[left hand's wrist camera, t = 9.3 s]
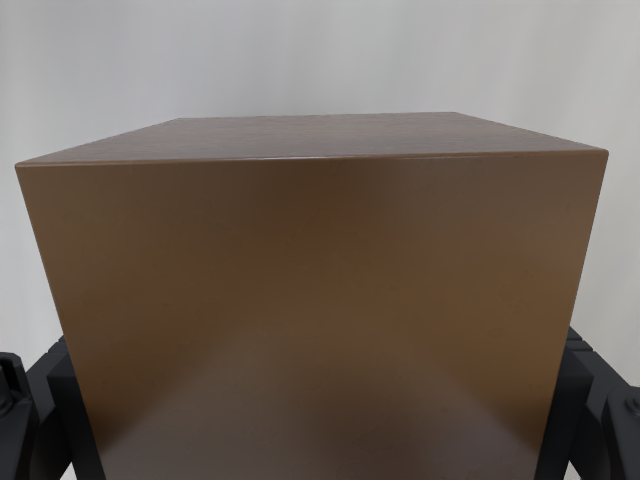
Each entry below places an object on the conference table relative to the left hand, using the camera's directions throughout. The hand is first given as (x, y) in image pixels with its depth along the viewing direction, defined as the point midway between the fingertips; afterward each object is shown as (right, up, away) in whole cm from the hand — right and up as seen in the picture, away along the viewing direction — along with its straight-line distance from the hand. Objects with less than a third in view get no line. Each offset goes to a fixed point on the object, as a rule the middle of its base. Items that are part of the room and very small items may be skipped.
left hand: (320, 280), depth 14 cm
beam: (+1, -25, +10) cm, 27 cm away
